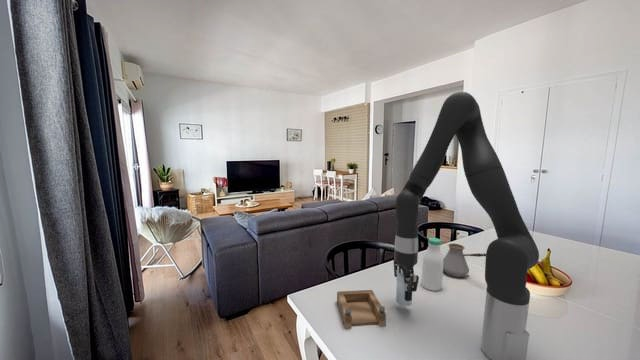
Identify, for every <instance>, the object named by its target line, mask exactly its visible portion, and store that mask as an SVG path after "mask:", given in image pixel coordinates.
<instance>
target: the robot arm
mask: <svg viewBox="0 0 640 360" xmlns="http://www.w3.org/2000/svg"><path fill="white" fill-rule="evenodd" d="M455 136H456V139H457V141H458V143H459V146H460V151H461V160H462V167H463V171H464V176H465V178H466V179H465V180H466V182H467V184H468V187H469V190H470V193H471V194H472V196H473V197H474V198H475V201H477V203H478V204H479V206H481V207H482V209H483V210H484V211H485V213H486V214H487V215H488V217H489V218H490V220H491V222H492V225H493V227H494V230H495V233H496V237H497V238H496V239H494V240H493V241H491V242H490V243H489V244H488V246H487V249H486V252H485V254H486V256H485V262H484V263H485V266H484V281H485V283H486V292H485V293H486V294H485V302H484V304H485V305H484V313H483V320H482V322H483V323H482V330H481V343H480V348H481V350H482V353H483V354H484V355H485V356H486V357H487V358H488V359H489V360H527V355H528V346H529V341H530V340H529V339H530V333H529V331H528V330H527V323H528V314H529V308H530V307H529V306H530V300H531V291H530V290H529V288H528V287H526V286H527V276H528V271H529V270H531V269H533V268H534V267H535V266H536V265H537V263H538V262H539V259H540V252H539V249H538V246H537V244H536V242H535V240H534V238H533V237H532V235H531V233H530V230H529V229H528V227H527V225H526V223H525V221H524V219H523V217H522V214H521V213H520V211H519V207H518V204H517V202H516V200H515V196H514V193H513V191H512V189H511V185H510V183H509V180H508V177H507V175H506V173H505V170H504V167H503V164H502V162H501V161H500V158H499V157H498V155H497V153H496V151H495V149H494V147H493V145H492V144H491V142H490V140H489V138H488V136H487V133H486V130H485V126H484V122H483V119H482V114H481V108H480V106H479V104H478V102H477V100H476V98H475V97H474V96H473V95H472V94H470V93H469V92H467V91H459V92H458V91H457V92H454V93H451V94H450V95H449V96H448V97H447V98H445V100H444V101H443V103H442V106H441V109H440V111H439V113H438V116H437V119H436V122H435V125H434V127H433V129H432V132H431V134H430V137H429V139H428V141H427V143H426V145H425V146H424V148H423V151H422V153H420V156H419V158H418V160H417V161H416V163H415V165H414V167H413V169H412V170H411V173H410V174H409V178H408V180H407V182H406V183H405V185H404V186H403V188H402V189H401V191H400V193H398V195H397V196H396V198H395V199H396V200H395V215H396V216H395V217H396V226H395V239H394V251H393V252H394V254H393V255H394V256H393V258H394V259H393V272H394V273H393V274H394V278H396V281H397V272H398V273H401V274H402V277H403V283H404V284H405V300H406V301H411V300H412V301H413V293H414V292H417V290H418V284H419V279H420V278H419V275H418V274H417V275H416V274H415V270H414V266H415V265H417V264H418V259H419V257H418V256H419V255H418V254H419V222H418V216H419V204H420V202H421V201H422V199H423V197H424V195H425V194H426V192H427V190H428V188H429V187H430V186H431V184H432V183H433V182H434V181H435V178H436V176H437V175H438V173H439V171H440V170H441V167H442V165H443V163H444V161H445V158H446V154H447V153H448V149H449V147H450V145H451V143H452V140H453V139H454V137H455ZM405 278H409V281H406V279H405ZM408 283H409V284H408ZM407 284H408V285H407Z"/></svg>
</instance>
